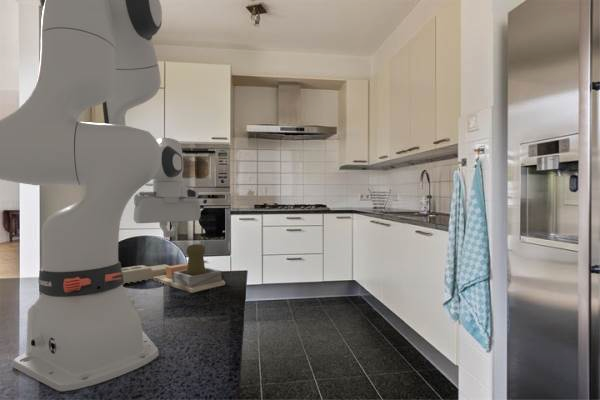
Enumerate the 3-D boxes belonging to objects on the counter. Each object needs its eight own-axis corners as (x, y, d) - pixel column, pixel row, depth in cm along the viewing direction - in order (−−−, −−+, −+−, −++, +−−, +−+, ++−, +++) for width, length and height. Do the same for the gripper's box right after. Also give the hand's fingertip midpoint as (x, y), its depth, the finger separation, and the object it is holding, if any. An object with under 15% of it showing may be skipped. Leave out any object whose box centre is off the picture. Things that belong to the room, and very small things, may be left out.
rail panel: (225, 284, 100) (224, 271, 100) (191, 292, 92) (191, 278, 92) (184, 274, 114) (184, 262, 114) (153, 280, 106) (152, 267, 106)
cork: (186, 285, 96) (185, 246, 96) (184, 280, 101) (184, 243, 101) (208, 282, 98) (207, 245, 98) (205, 278, 104) (204, 242, 104)
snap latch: (188, 274, 108) (188, 265, 108) (171, 277, 103) (171, 268, 103) (183, 272, 110) (183, 263, 110) (166, 276, 106) (165, 266, 106)
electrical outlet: (174, 264, 113) (114, 273, 100) (174, 276, 113) (115, 286, 100) (165, 261, 118) (107, 269, 105) (165, 273, 118) (108, 282, 105)
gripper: (139, 190, 94) (139, 240, 94) (202, 192, 110) (203, 234, 110) (129, 191, 98) (130, 239, 98) (192, 193, 114) (192, 234, 114)
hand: (169, 236), depth 104 cm, fingers closed
